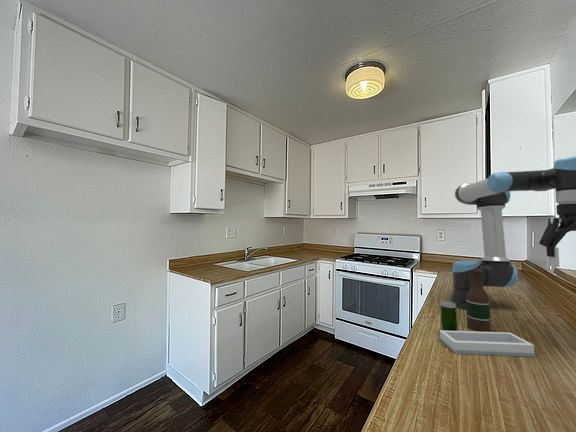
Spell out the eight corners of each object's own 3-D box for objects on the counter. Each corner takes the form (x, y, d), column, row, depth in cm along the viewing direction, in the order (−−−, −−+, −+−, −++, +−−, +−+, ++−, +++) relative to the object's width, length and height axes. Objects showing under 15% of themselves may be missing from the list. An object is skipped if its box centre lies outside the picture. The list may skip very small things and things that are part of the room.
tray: (439, 339, 91) (439, 330, 91) (510, 342, 88) (509, 332, 89) (454, 353, 81) (454, 342, 81) (535, 356, 78) (534, 345, 79)
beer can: (443, 336, 93) (442, 304, 94) (439, 330, 99) (438, 300, 99) (460, 338, 92) (458, 305, 92) (455, 332, 97) (453, 301, 97)
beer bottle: (487, 326, 103) (485, 268, 104) (494, 333, 95) (491, 271, 97) (465, 323, 106) (463, 266, 107) (469, 330, 99) (467, 269, 100)
